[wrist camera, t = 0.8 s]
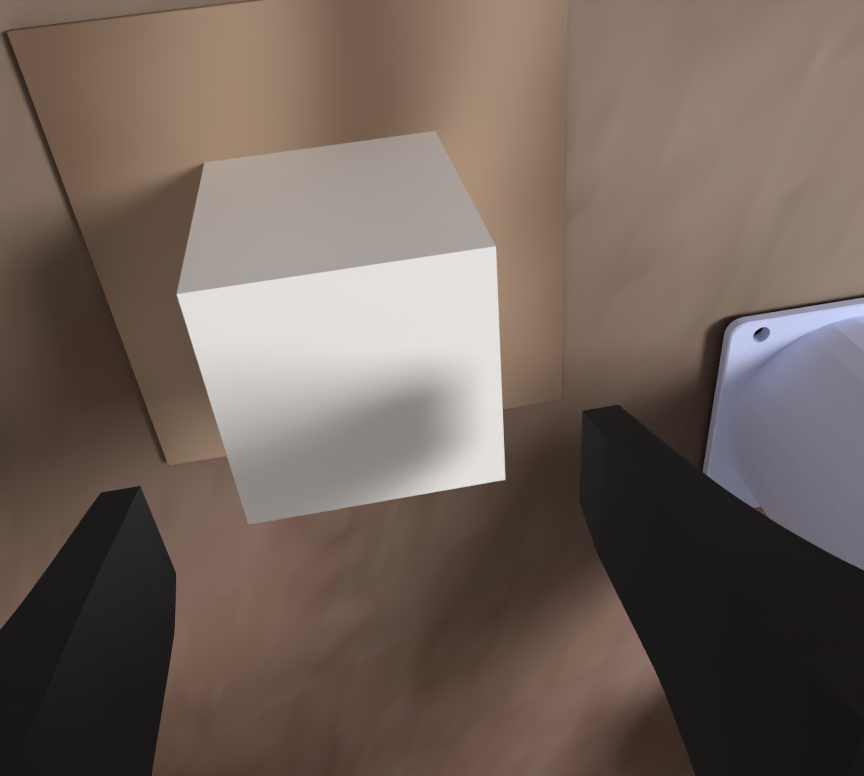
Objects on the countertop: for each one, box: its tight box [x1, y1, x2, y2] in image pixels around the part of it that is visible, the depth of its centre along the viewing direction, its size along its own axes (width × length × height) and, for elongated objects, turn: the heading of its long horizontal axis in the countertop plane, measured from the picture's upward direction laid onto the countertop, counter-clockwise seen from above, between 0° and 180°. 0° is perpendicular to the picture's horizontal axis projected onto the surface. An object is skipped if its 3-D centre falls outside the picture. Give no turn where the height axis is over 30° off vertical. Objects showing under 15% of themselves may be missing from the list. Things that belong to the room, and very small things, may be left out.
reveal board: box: [7, 0, 568, 466], centre depth 20 cm, size 12×12×1 cm
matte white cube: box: [177, 131, 505, 525], centre depth 18 cm, size 6×6×6 cm
